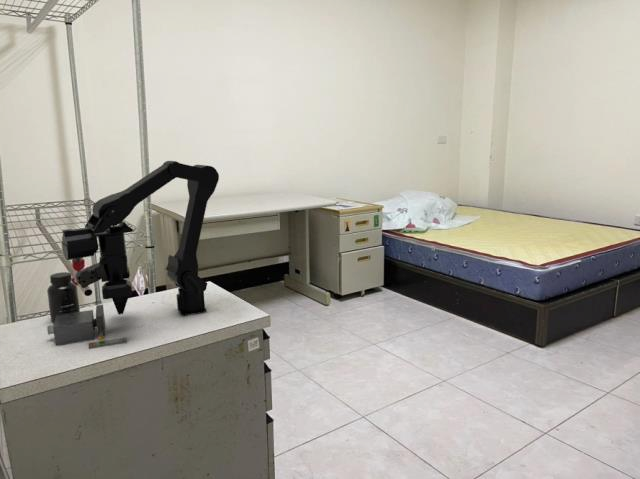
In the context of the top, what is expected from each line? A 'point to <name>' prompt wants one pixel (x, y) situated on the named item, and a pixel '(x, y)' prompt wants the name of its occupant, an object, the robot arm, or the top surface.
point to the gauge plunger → (97, 322)
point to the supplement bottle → (62, 295)
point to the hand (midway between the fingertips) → (120, 313)
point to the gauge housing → (79, 330)
